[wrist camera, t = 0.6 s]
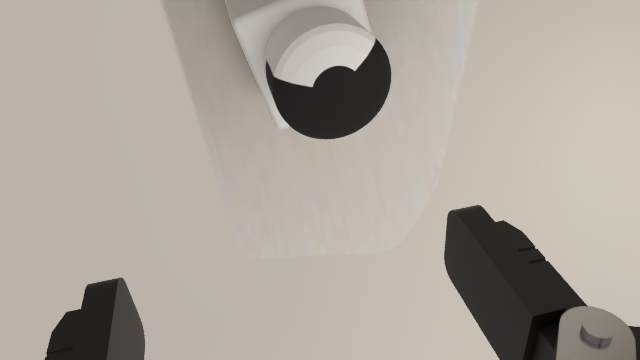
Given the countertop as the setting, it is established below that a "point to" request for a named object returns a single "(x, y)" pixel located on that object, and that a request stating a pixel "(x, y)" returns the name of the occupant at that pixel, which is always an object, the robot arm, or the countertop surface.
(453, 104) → the countertop surface
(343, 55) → the medicine bottle
